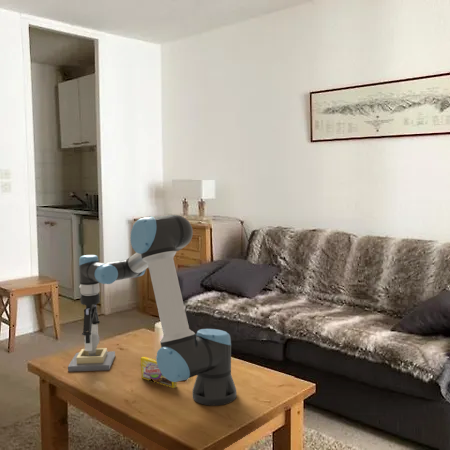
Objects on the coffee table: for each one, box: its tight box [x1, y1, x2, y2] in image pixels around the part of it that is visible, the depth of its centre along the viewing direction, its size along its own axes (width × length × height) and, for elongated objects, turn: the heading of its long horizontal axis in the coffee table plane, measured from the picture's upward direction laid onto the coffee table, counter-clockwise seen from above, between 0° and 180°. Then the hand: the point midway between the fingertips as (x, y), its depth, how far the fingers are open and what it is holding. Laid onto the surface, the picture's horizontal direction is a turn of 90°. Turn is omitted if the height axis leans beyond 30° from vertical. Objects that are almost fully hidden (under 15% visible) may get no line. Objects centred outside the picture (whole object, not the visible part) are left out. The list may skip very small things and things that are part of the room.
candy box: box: [140, 356, 178, 389], centre depth 193 cm, size 16×2×8 cm, turn 54°
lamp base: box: [67, 347, 116, 372], centre depth 213 cm, size 16×16×4 cm
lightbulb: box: [83, 332, 100, 356], centre depth 212 cm, size 6×6×11 cm
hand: (91, 345), depth 212 cm, fingers open, 13 cm apart
